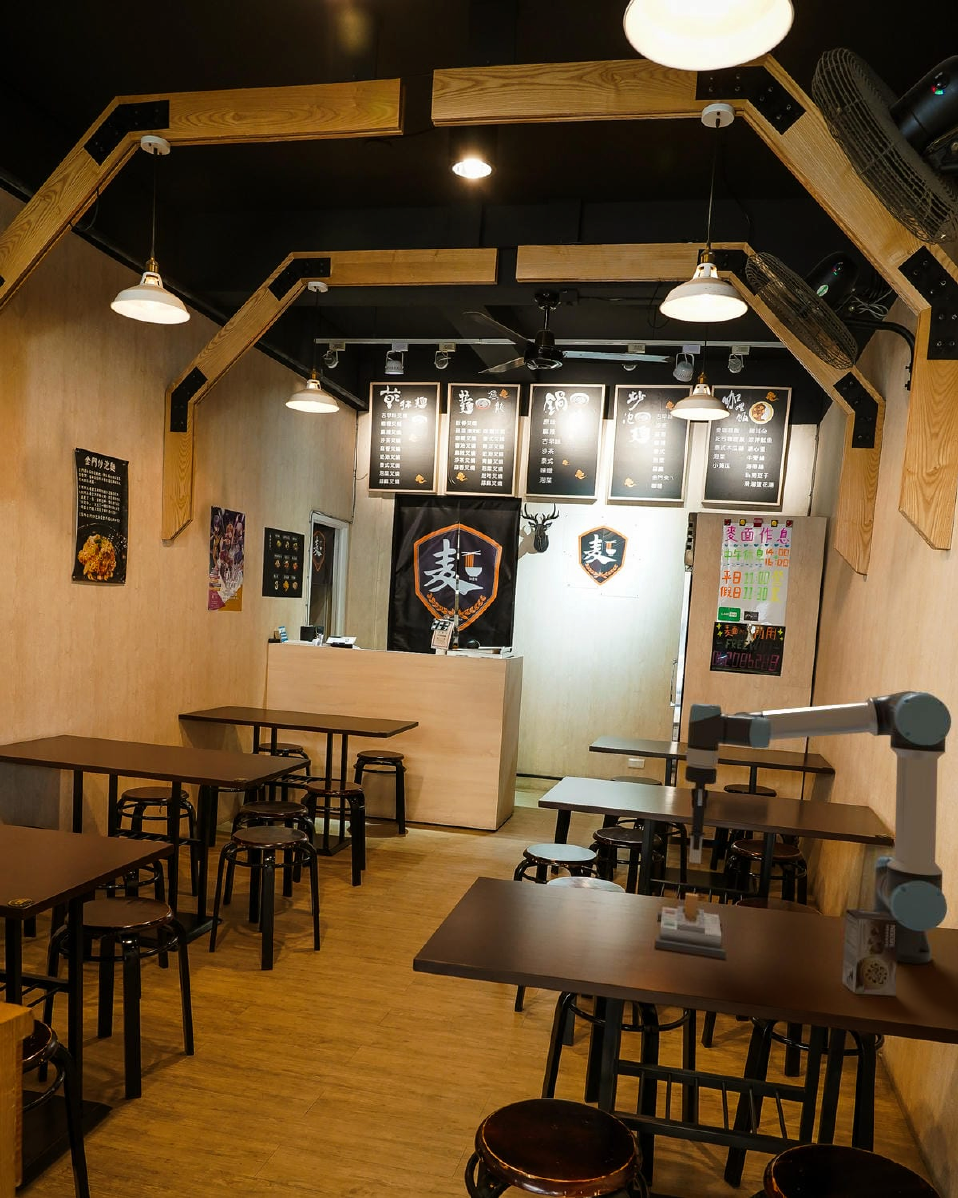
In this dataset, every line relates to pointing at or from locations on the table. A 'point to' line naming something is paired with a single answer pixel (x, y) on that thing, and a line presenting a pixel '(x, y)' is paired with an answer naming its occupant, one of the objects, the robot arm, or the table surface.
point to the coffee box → (870, 952)
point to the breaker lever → (691, 904)
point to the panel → (690, 927)
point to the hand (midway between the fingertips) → (694, 862)
